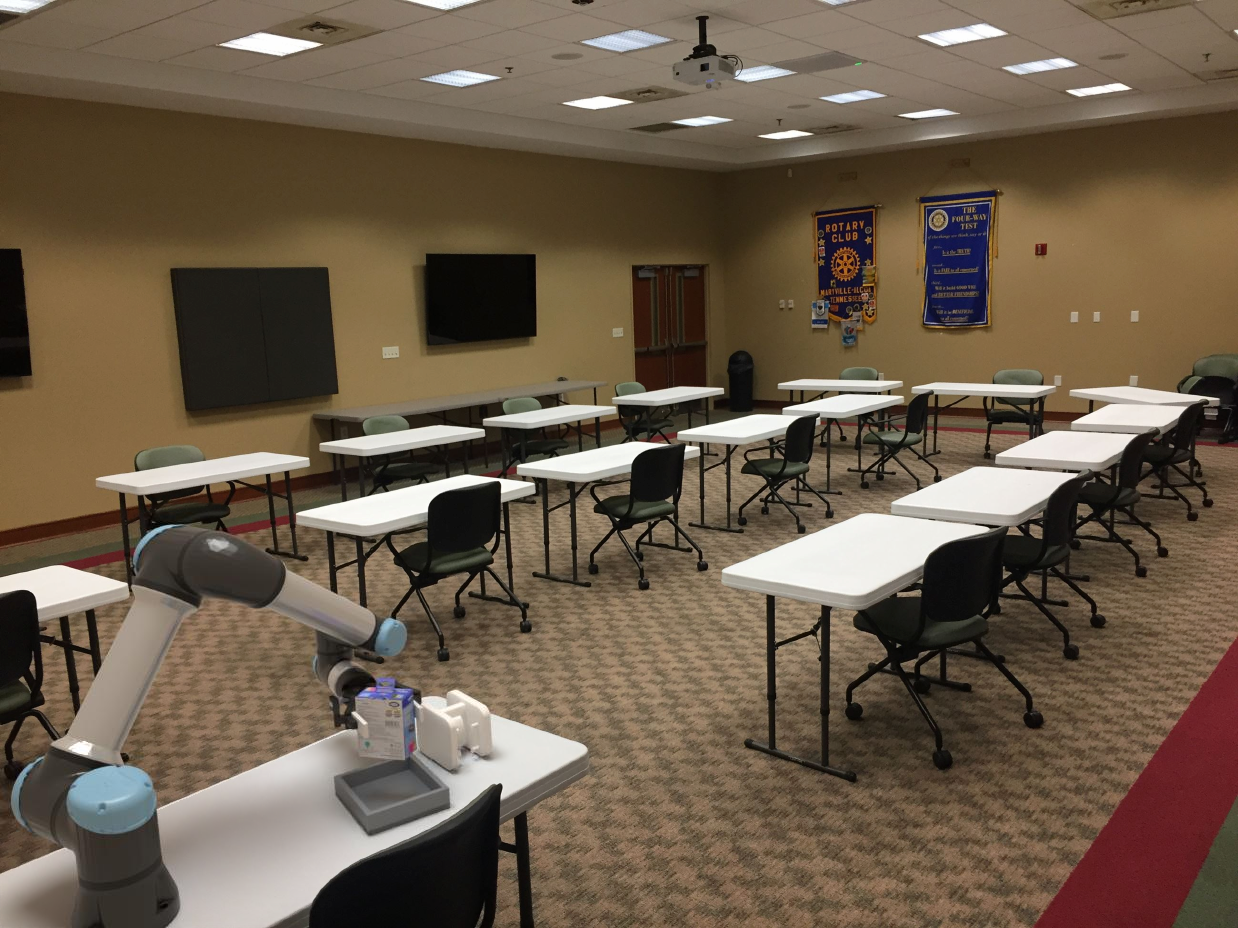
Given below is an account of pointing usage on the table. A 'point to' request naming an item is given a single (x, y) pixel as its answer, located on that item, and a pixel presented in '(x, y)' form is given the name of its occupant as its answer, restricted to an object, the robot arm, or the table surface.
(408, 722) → the ink cartridge box
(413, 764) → the tray
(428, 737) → the cable organizer
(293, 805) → the table surface
